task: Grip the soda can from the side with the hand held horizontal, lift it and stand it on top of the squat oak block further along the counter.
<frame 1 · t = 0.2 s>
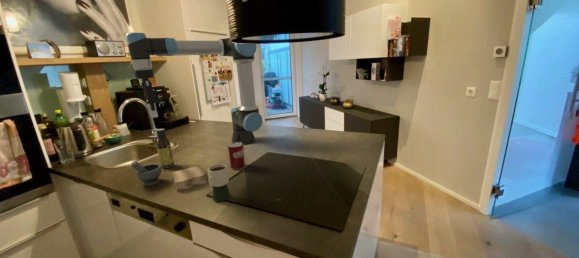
hand: (153, 114, 114), 28 cm above the worktop, tool pointing down, fingers open, 13 cm apart
oak block: (189, 181, 106), on the worktop
mortar and pestle: (150, 183, 107), on the worktop
sauce bottle: (168, 166, 123), on the worktop
soda can: (238, 167, 119), on the worktop
character mug: (221, 198, 92), on the worktop
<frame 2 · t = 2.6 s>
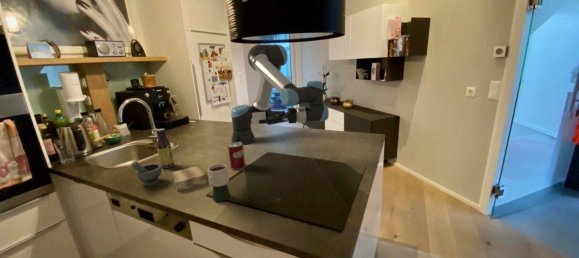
hand: (251, 118, 113), 24 cm above the worktop, tool horizontal, fingers open, 13 cm apart
nothing on the worktop moved.
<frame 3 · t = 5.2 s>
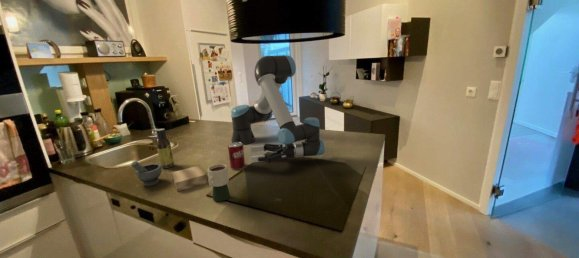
hand: (251, 154, 117), 6 cm above the worktop, tool horizontal, fingers open, 13 cm apart
nothing on the worktop moved.
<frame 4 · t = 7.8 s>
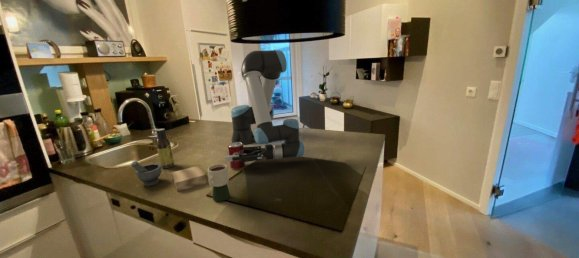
hand: (226, 155, 116), 7 cm above the worktop, tool horizontal, fingers closed on soda can, 7 cm apart
soda can: (238, 167, 119), on the worktop, touching gripper
everything else where it was.
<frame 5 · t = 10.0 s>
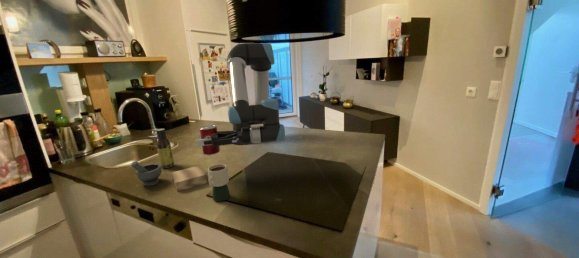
hand: (198, 140, 105), 18 cm above the worktop, tool horizontal, fingers closed on soda can, 7 cm apart
soda can: (211, 153, 107), point 11 cm above the worktop, touching gripper
everything else where it was.
when the fingers open (12 cm above the worktop, at t = 12.5 s): soda can drops 1 cm, resting on oak block.
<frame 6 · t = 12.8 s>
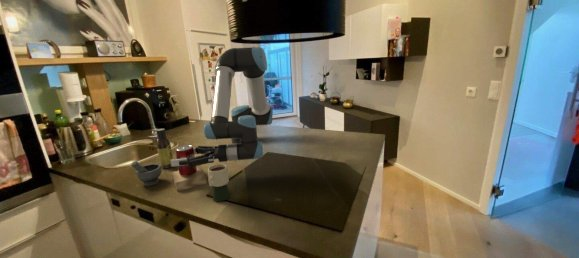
hand: (176, 157, 102), 12 cm above the worktop, tool horizontal, fingers open, 11 cm apart
soda can: (188, 173, 105), point 4 cm above the worktop, touching oak block
everything else where it was.
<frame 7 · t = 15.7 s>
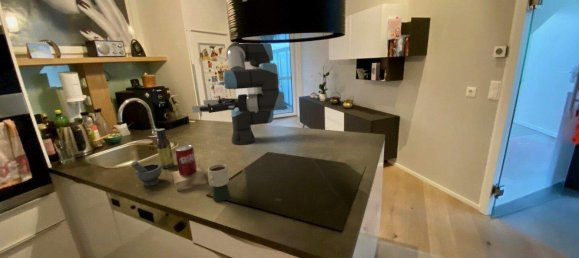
hand: (198, 106, 101), 33 cm above the worktop, tool horizontal, fingers open, 13 cm apart
nothing on the worktop moved.
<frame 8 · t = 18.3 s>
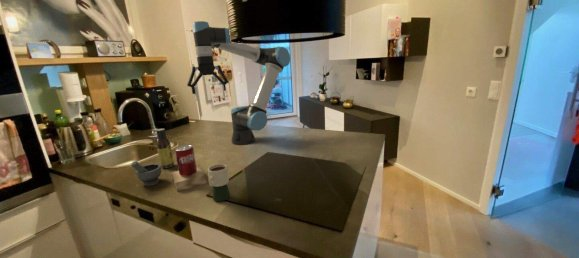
hand: (210, 98, 123), 33 cm above the worktop, tool pointing down, fingers open, 13 cm apart
nothing on the worktop moved.
at the end: soda can inside the target area on the oak block (0.1 cm from its centre), point 3.8 cm above the oak block's base; soda can tilted 0°; the gripper is holding nothing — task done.
